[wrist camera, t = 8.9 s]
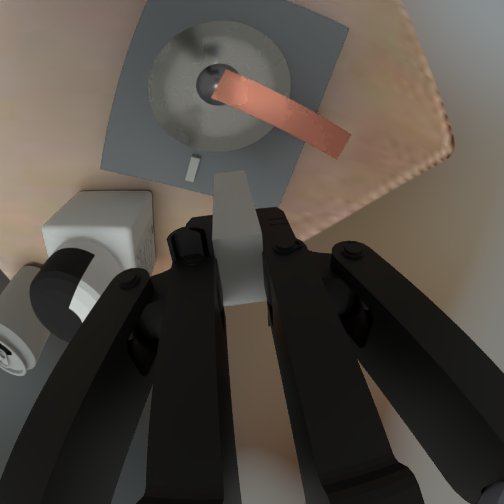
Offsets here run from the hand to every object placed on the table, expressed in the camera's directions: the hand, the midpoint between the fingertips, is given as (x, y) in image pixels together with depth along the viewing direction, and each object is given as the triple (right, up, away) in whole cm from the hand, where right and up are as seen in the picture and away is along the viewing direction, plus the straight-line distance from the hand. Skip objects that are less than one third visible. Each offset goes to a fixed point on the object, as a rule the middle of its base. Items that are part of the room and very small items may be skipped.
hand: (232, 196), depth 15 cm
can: (-25, -7, +14) cm, 30 cm away
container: (-12, 0, +12) cm, 17 cm away
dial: (0, +9, +5) cm, 10 cm away
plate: (-2, +11, +6) cm, 12 cm away
